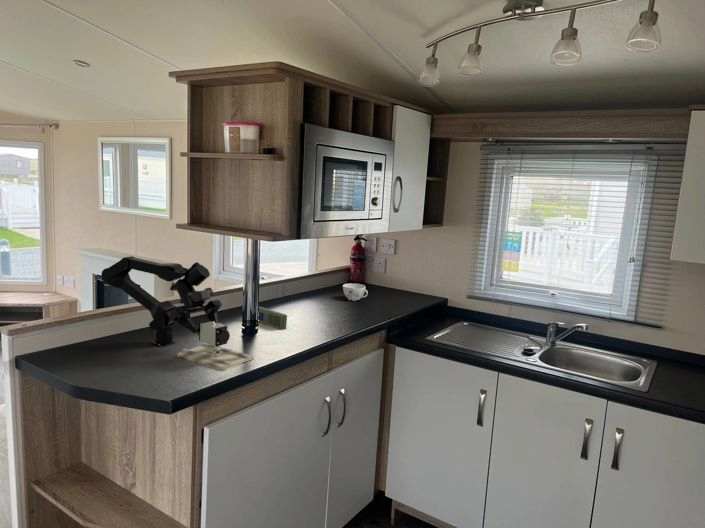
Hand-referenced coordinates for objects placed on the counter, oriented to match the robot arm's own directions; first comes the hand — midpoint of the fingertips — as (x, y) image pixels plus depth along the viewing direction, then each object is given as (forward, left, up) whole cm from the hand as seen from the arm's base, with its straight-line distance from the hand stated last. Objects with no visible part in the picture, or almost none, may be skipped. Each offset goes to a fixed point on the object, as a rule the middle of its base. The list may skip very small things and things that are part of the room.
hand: (206, 330), depth 177 cm
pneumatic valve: (+5, -1, -8) cm, 9 cm away
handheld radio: (-11, +45, -9) cm, 47 cm away
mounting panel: (+5, 0, -9) cm, 10 cm away
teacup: (-5, +113, -9) cm, 113 cm away
